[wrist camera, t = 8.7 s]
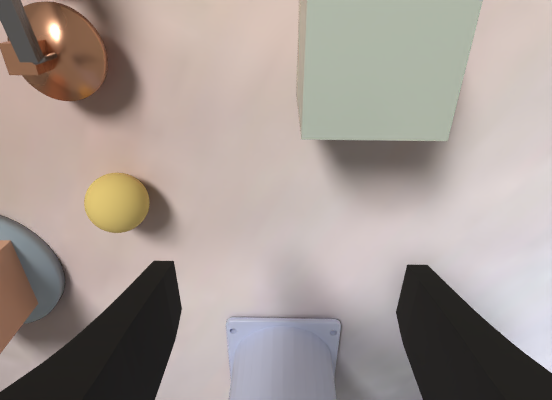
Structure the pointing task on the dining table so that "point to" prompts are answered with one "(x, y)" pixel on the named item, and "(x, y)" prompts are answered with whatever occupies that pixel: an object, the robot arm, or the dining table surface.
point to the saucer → (36, 266)
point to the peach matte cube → (13, 294)
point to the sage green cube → (382, 67)
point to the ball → (116, 202)
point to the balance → (53, 49)
